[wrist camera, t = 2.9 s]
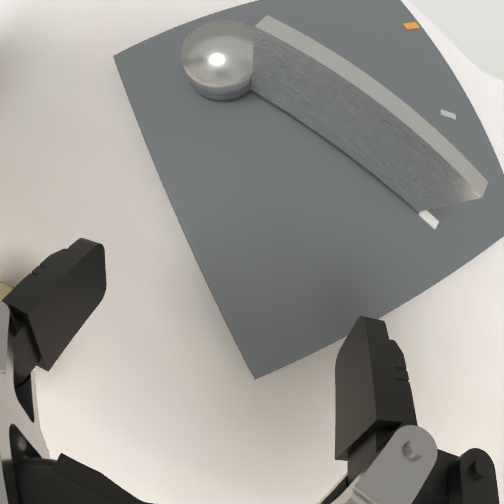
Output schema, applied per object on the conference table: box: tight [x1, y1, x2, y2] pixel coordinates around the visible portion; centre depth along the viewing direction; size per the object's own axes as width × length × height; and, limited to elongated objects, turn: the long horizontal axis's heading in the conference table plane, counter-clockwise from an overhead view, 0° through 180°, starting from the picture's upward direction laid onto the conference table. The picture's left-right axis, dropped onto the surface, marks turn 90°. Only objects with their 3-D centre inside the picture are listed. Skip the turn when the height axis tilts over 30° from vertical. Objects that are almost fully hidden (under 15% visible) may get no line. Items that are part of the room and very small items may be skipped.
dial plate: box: [113, 0, 504, 379], centre depth 24 cm, size 30×30×2 cm
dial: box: [181, 15, 488, 212], centre depth 19 cm, size 22×6×8 cm, turn 55°
